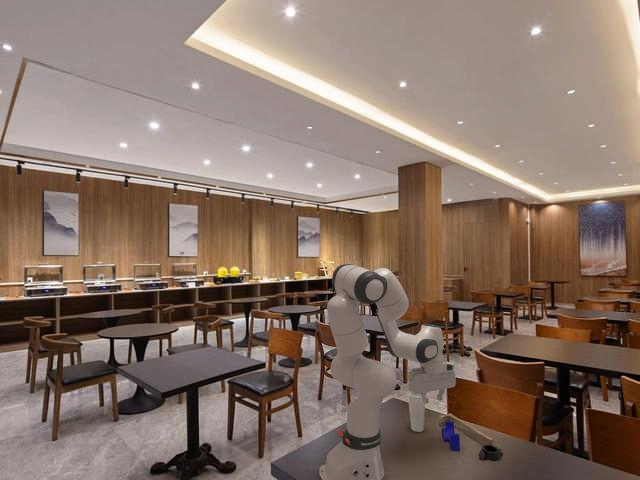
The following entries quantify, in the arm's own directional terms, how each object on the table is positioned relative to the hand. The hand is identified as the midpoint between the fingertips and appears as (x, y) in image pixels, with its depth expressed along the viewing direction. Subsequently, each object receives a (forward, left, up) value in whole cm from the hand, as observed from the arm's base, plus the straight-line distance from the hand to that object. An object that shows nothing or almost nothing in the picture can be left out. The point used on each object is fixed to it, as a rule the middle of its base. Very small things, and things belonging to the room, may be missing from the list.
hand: (432, 401), depth 139 cm
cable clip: (+8, 0, -18) cm, 19 cm away
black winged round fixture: (+15, -14, -18) cm, 27 cm away
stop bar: (+16, +1, -17) cm, 24 cm away
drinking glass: (+2, +13, -17) cm, 22 cm away
